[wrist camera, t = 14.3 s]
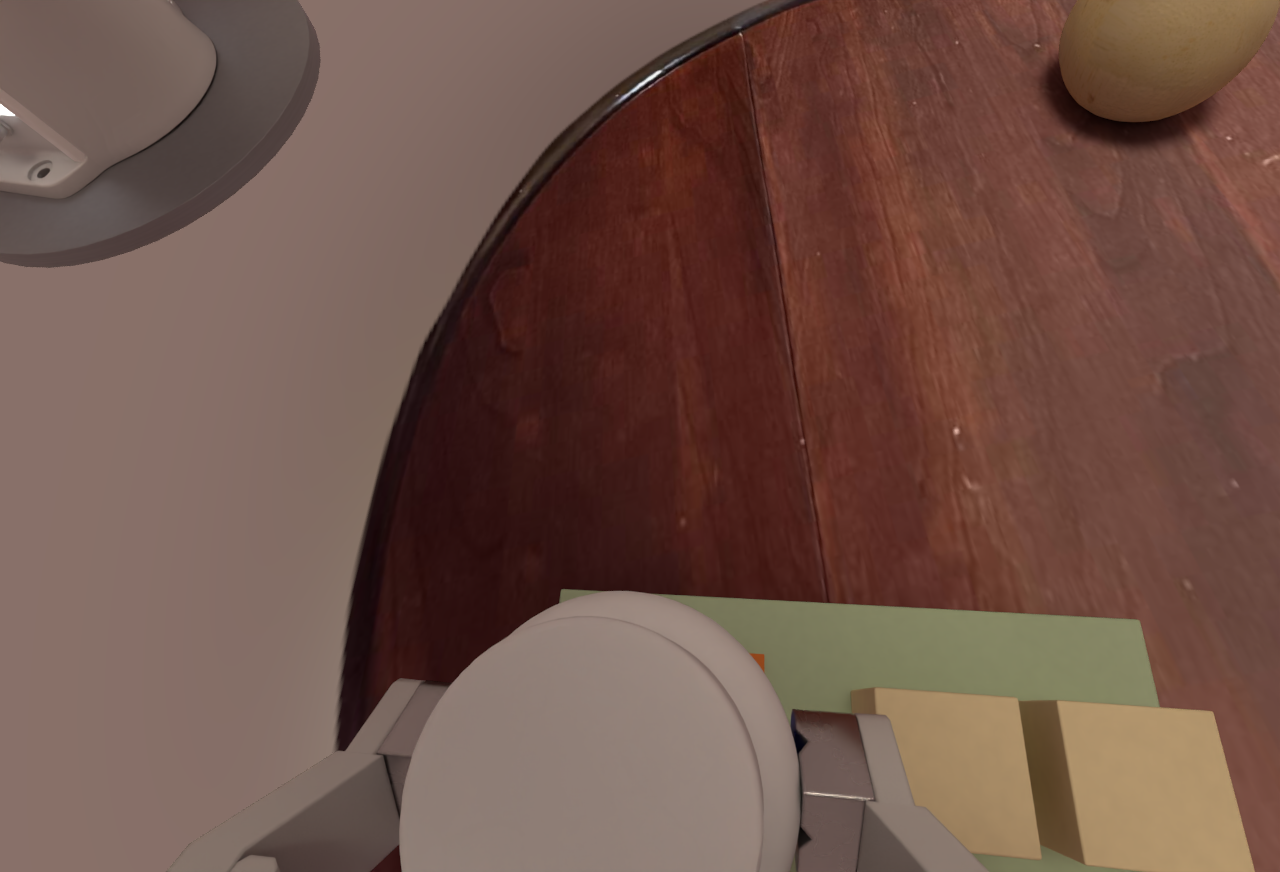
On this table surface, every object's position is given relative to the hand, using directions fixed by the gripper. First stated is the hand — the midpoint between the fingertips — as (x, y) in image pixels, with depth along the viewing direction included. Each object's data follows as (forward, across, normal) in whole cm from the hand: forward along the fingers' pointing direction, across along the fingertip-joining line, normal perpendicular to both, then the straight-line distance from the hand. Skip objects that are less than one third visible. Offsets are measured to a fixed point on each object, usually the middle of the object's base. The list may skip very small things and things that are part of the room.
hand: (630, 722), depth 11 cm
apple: (+32, -22, -12) cm, 40 cm away
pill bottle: (+4, 0, +4) cm, 6 cm away
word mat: (+9, -6, +10) cm, 15 cm away
